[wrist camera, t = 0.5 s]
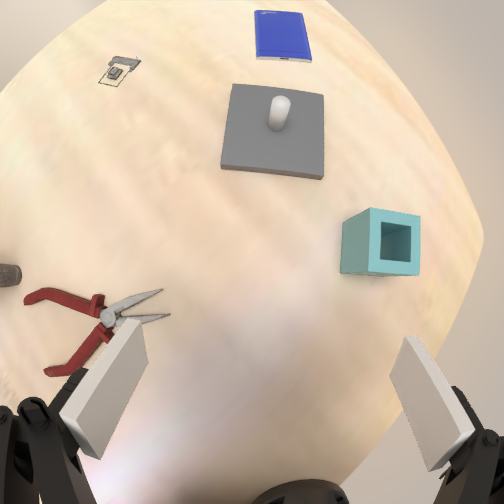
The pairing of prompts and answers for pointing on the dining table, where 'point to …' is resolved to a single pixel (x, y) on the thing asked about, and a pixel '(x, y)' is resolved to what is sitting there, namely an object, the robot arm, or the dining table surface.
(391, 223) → the block with square hole
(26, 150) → the dining table surface
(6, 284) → the flask
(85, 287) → the dining table surface
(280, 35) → the hard drive
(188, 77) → the dining table surface
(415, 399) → the robot arm
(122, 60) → the grey rectangular frame
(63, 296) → the pliers
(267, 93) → the pin base
